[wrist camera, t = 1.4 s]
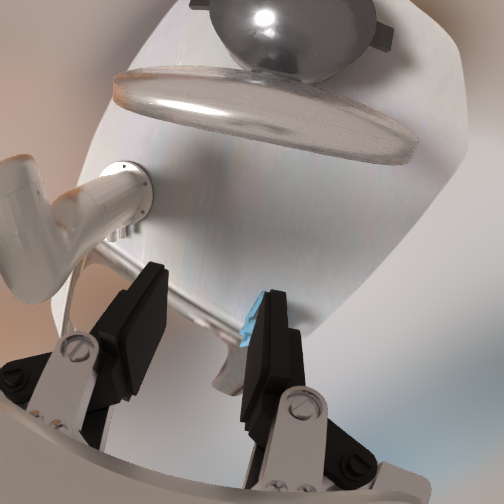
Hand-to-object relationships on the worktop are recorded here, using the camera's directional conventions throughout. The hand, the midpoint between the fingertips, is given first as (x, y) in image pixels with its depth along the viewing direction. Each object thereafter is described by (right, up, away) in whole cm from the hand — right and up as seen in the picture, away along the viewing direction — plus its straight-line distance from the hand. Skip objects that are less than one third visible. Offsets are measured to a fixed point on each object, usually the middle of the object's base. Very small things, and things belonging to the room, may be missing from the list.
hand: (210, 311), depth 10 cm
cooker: (+8, +39, +24) cm, 47 cm away
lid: (+3, +16, +9) cm, 18 cm away
